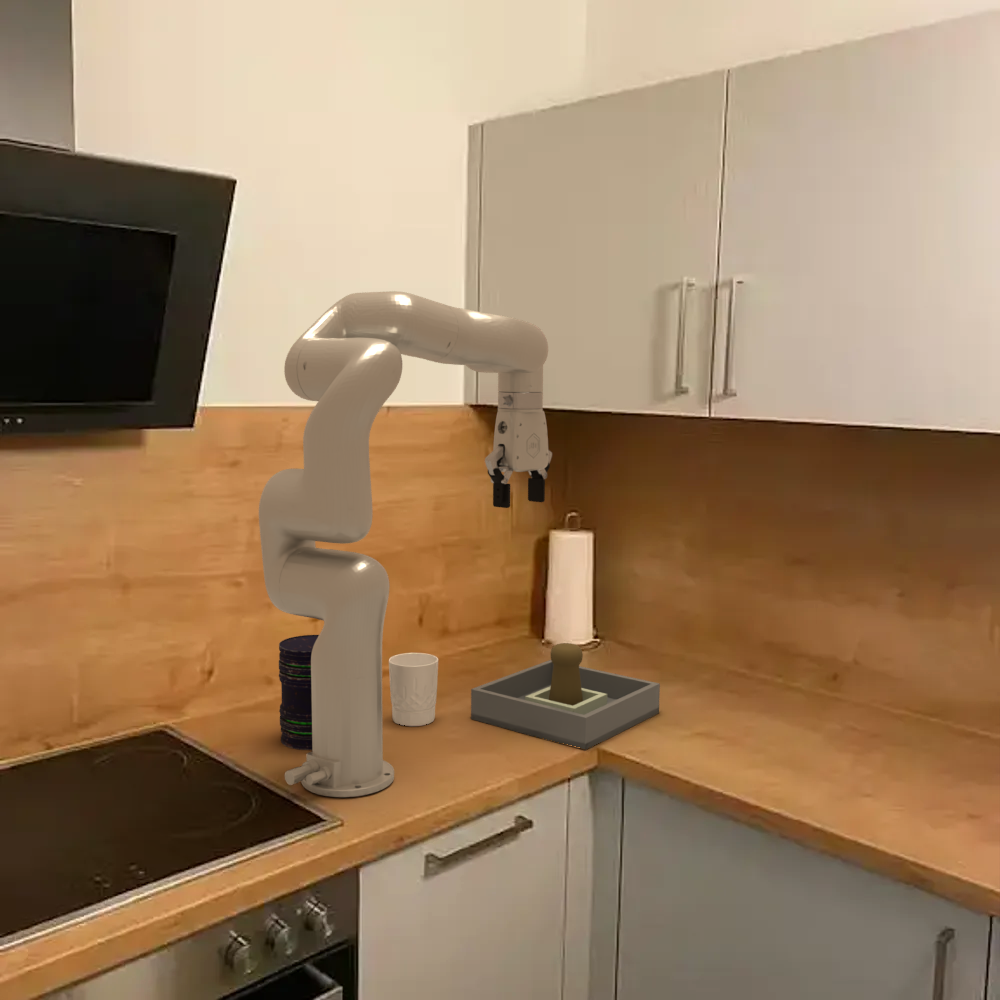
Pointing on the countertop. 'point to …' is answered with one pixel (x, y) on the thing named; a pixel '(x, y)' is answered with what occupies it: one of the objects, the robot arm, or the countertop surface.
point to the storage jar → (296, 691)
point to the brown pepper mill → (566, 674)
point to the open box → (565, 705)
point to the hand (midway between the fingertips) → (519, 504)
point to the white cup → (413, 688)
